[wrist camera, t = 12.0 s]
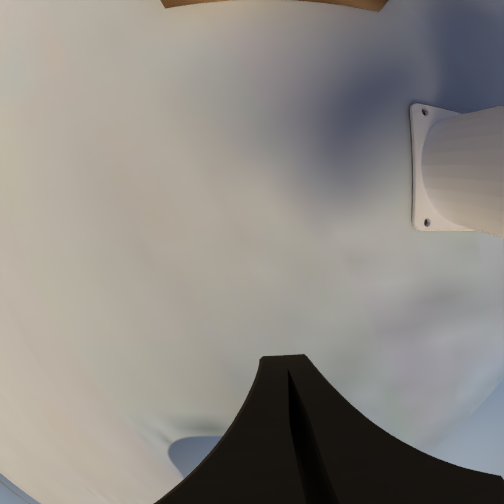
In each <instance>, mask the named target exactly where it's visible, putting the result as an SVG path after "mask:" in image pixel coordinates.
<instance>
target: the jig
mask: <svg viewBox="0 0 504 504" xmlns="http://www.w3.org/2000/svg"><path fill="white" fill-rule="evenodd" d="M214 1H227V0H161V2H162V3H163V5H164V7H165V8H170V7H175V6H182V5H188V4H196V3H204V2H214ZM300 1H312V2H322V3H330V4H338V5H345V6H351V7H357V8H362V9H367V10H372V11H377V12H379V11H380V10H381V8H382V7H383V6H384V5H385V4H386V2H387V1H388V0H300Z"/></svg>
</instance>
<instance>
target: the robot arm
mask: <svg viewBox="0 0 504 504" xmlns="http://www.w3.org/2000/svg"><path fill="white" fill-rule="evenodd" d="M422 109H423V110H424V111H425V115H423V113H422ZM410 120H411V134H412V154H413V210H412V225H413V227H414V228H415V229H417V230H445V231H481V232H484V233H487V234H490V235H493V236H496V237H500V238H503V239H504V105H503V106H498V107H493V108H488V109H484V110H479V111H475V112H470V113H466V114H461V113H457V112H453V111H450V110H446V109H441V108H437V107H433V106H428V105H424V104H419V103H415V104H413V105H411V106H410ZM425 219H427V224H426V225H424V221H425ZM154 504H504V480H503V478H502V477H501V476H498V475H493V474H488V473H484V472H479V471H474V470H471V469H466V468H463V467H459V466H456V465H454V464H451V463H448V462H445V461H442V460H440V459H437V458H435V457H432V456H430V455H428V454H426V453H423V452H421V451H419V450H418V449H416V448H414V447H412V446H410V445H408V444H406V443H404V442H402V441H400V440H399V439H397V438H395V437H394V436H392V435H390V434H389V433H387V432H386V431H384V430H383V429H381V428H380V427H379V426H377V425H376V424H374V423H373V422H372V421H370V420H369V419H368V418H366V417H365V416H364V415H363V414H362V413H360V412H359V411H358V410H357V409H356V408H355V407H353V406H352V405H351V404H350V403H349V402H348V401H347V400H346V399H345V398H344V397H343V396H342V395H341V394H340V393H339V392H338V391H337V390H336V389H335V388H334V387H333V386H332V385H331V384H330V383H329V382H328V381H327V380H326V379H325V378H324V376H323V375H322V374H321V373H320V372H319V371H318V369H317V368H316V367H315V366H314V365H313V363H312V362H311V361H310V360H309V358H308V357H307V356H306V355H305V354H300V355H282V356H263V357H262V358H261V359H260V360H259V367H258V371H257V374H256V377H255V380H254V382H253V385H252V387H251V389H250V391H249V394H248V396H247V398H246V400H245V402H244V404H243V406H242V407H241V409H240V411H239V412H238V414H237V416H236V417H235V419H234V421H233V422H232V424H231V425H230V427H229V428H228V430H227V431H226V433H225V434H224V436H223V437H222V438H221V440H220V441H219V442H218V443H217V445H216V446H215V447H214V448H213V450H212V451H211V452H210V453H209V454H208V455H207V456H206V458H205V459H204V460H203V461H202V462H201V463H200V464H199V465H198V466H197V467H196V468H195V469H194V470H193V471H192V472H191V473H190V474H189V475H188V476H187V477H186V478H185V479H184V480H183V481H181V482H180V483H179V484H178V485H177V486H176V487H174V488H173V489H172V490H171V491H170V492H168V493H167V494H166V495H165V496H163V497H162V498H161V499H160V500H158V501H157V502H155V503H154Z"/></svg>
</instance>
